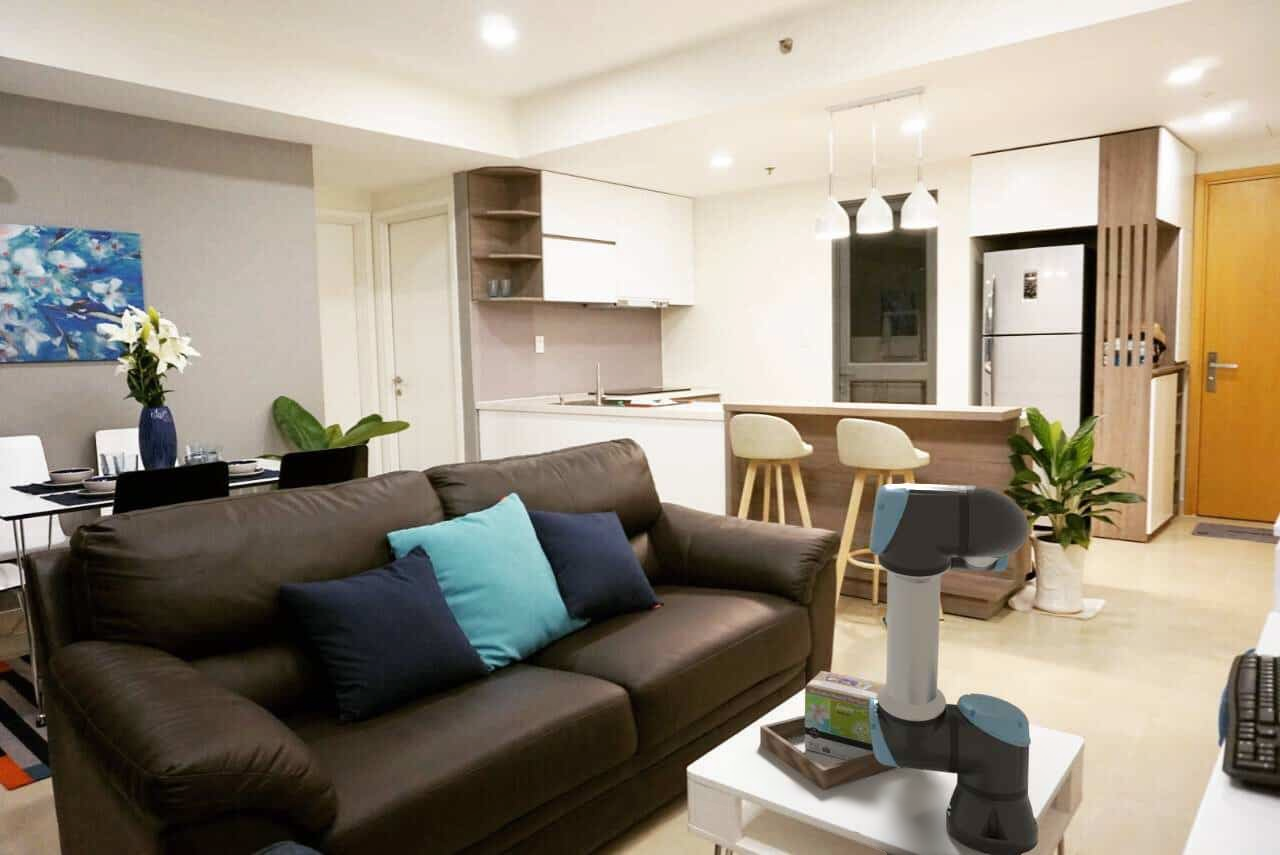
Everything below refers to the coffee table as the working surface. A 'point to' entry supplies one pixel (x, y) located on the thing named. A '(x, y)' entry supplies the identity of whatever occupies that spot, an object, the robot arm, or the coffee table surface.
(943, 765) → the robot arm
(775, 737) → the frame
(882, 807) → the coffee table surface
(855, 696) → the tea box
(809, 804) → the coffee table surface
